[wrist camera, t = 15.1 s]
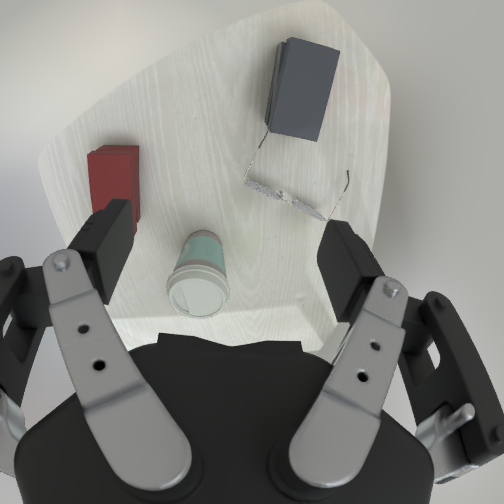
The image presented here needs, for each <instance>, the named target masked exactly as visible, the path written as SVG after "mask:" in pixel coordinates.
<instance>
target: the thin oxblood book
mask: <svg viewBox="0 0 504 504" xmlns="http://www.w3.org/2000/svg"><path fill="white" fill-rule="evenodd" d="M87 159H88V172H89V183H90V193H91V202H92V209H93V214H94V213H95V212H97V211H98V210H100V209H102V210H104V209H105V207H106V206H107V205H108V203H109V202H110V201H111V199H113V198H120V199H130V200H131V202H132V212H133V226H134V236H135V234H136V232H137V222H136V205H135V179H134V151H91V152H90V153H89V154H87Z"/></svg>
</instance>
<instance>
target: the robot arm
mask: <svg viewBox="0 0 504 504" xmlns="http://www.w3.org/2000/svg"><path fill="white" fill-rule="evenodd" d="M133 242H134V226H133V212H132V202H131V200H130V199H120V198H113V199H111V201H110V202H109V203H108V205H107V206H106V207H105V209H104V210H102V209H100V210H98V211H97V212H95V213H94V214H92V215H91V216H90V217H89V218H88V220H87V221H86V222H85V224H84V225H83V226H82V228H81V231H79V232H78V233H77V235H76V236H75V238H74V239H73V240H72V242H71V243H70V245H69V246H68V248H67V249H62V250H58V251H56V252H54V253H52V254H50V255H49V256H48V257H47V258H46V259H45V261H44V262H43V266H38V267H31V268H25V266H24V263H23V260H22V259H21V258H20V257H17V256H10V257H7V258H4V259H2V260H1V261H0V472H3V473H5V474H7V475H9V476H12V477H14V478H16V481H17V484H18V487H19V490H20V493H21V496H22V500H23V504H429V501H430V496H431V491H432V487H433V483H436V484H443V483H446V482H448V481H451V480H453V479H455V478H458V477H460V476H462V475H464V474H466V473H468V472H470V471H472V470H474V469H476V468H478V467H480V466H482V465H483V464H485V463H488V462H490V461H491V460H493V459H495V458H497V457H498V456H500V455H502V454H503V453H504V413H503V411H502V408H501V405H500V402H499V400H498V397H497V395H496V392H495V390H494V387H493V385H492V382H491V380H490V378H489V375H488V373H487V371H486V368H485V366H484V364H483V362H482V360H481V358H480V356H479V353H478V351H477V349H476V347H475V345H474V343H473V342H472V339H471V338H470V336H469V334H468V332H467V330H466V328H465V326H464V324H463V322H462V320H461V319H460V317H459V315H458V313H457V312H456V310H455V308H454V306H453V305H452V303H451V302H450V300H449V299H448V298H446V297H445V296H444V295H442V294H440V293H438V292H434V291H431V292H429V293H427V295H426V296H425V298H424V299H423V301H422V300H419V299H415V298H413V297H409V296H408V292H407V290H406V288H405V287H404V286H403V285H402V284H401V283H400V282H399V281H397V280H396V279H394V278H391V277H388V276H385V274H384V272H383V271H382V269H381V267H380V265H379V264H378V262H377V260H376V259H375V258H374V255H373V254H372V252H371V251H370V249H369V247H368V245H367V244H366V242H365V241H364V240H363V239H361V238H360V237H359V236H358V235H357V234H355V233H354V232H353V230H352V228H351V227H350V225H349V223H348V222H346V221H339V220H332V219H330V220H329V221H328V222H327V225H326V228H325V231H324V234H323V237H322V240H321V243H320V246H319V249H318V253H317V264H318V267H319V270H320V272H321V275H322V278H323V281H324V284H325V286H326V289H327V292H328V295H329V298H330V301H331V304H332V307H333V310H334V313H335V316H336V319H337V322H349V324H350V327H349V328H348V330H347V332H346V334H345V336H344V338H343V339H342V341H341V343H340V345H339V347H338V349H337V351H336V352H335V354H334V356H333V358H332V360H331V362H330V363H328V362H327V361H325V360H324V359H322V358H320V357H317V356H315V355H313V354H310V353H307V352H303V350H302V345H301V341H262V342H257V343H251V344H245V345H239V346H226V345H223V344H219V343H216V342H212V341H209V340H205V339H202V338H198V337H195V336H187V335H176V334H167V333H159V335H158V340H157V343H153V344H147V345H143V346H140V347H137V348H135V349H132V350H130V351H127V349H126V347H125V345H124V344H123V342H122V340H121V338H120V336H119V334H118V332H117V331H116V329H115V327H114V325H113V323H112V321H111V319H110V317H109V315H108V313H107V311H106V309H105V307H104V304H105V305H108V304H109V302H110V299H111V297H112V294H113V292H114V289H115V287H116V284H117V282H118V279H119V277H120V274H121V272H122V270H123V267H124V265H125V263H126V260H127V258H128V256H129V253H130V251H131V249H132V246H133ZM9 314H10V315H11V317H12V318H13V319H12V321H11V323H10V325H9V327H8V330H7V332H6V334H5V336H4V338H3V326H4V324H5V322H6V319H7V318H8V315H9ZM50 326H53V327H54V330H55V334H56V337H57V341H58V344H59V347H60V350H61V353H62V356H63V359H64V362H65V365H66V367H67V370H68V373H69V375H70V378H71V381H72V383H73V386H74V388H75V391H76V392H75V393H74V394H73V395H71V396H70V397H69V398H68V399H66V400H65V401H64V402H63V403H61V404H60V405H59V406H58V407H56V408H55V409H54V410H53V411H52V412H50V413H49V414H48V415H46V416H45V417H44V418H43V419H41V420H40V421H39V422H38V423H37V424H35V425H34V426H33V427H32V428H30V429H29V430H28V431H27V429H26V427H25V418H24V414H23V412H22V410H21V409H20V407H21V403H22V399H23V395H24V392H25V388H26V384H27V381H28V378H29V374H30V371H31V368H32V365H33V362H34V359H35V356H36V353H37V350H38V347H39V345H40V342H41V339H42V336H43V334H44V331H45V328H46V327H50ZM433 341H434V342H435V344H436V347H437V349H438V351H439V354H440V363H439V366H438V367H437V368H436V370H435V367H434V365H433V363H432V360H431V357H430V355H429V353H428V350H427V348H428V347H429V346H430V345H431V343H432V342H433ZM397 362H398V365H399V368H400V371H401V374H402V378H403V381H404V384H405V387H406V390H407V394H408V397H409V400H410V404H411V407H412V411H413V414H414V418H415V422H416V426H417V430H416V433H415V437H414V436H413V435H412V434H411V433H410V432H409V431H407V430H406V429H405V428H404V427H403V426H401V425H400V424H399V423H398V422H397V421H396V420H394V419H393V418H392V417H391V416H390V415H389V414H388V413H386V412H385V411H384V410H383V409H382V407H383V404H384V401H385V399H386V396H387V393H388V390H389V387H390V384H391V381H392V378H393V375H394V371H395V369H396V365H397Z"/></svg>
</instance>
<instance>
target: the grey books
mask: <svg viewBox="0 0 504 504" xmlns="http://www.w3.org/2000/svg"><path fill="white" fill-rule="evenodd" d="M339 54H340V51H338V50H335V49H332V48H329V47H326V46H323V45H319V44H316V43H312V42H309V41H305V40H301V39H297V38H293V37H291V38H289V39H287V42H286V43H284V42H281V43H279V45H278V50H277V56H276V61H275V67H274V72H273V78H272V83H271V89H270V94H269V100H268V106H267V111H266V117H265V123H266V125H267V126H268V129H269V131H270V132H271V133H278V134H283V135H288V136H293V137H298V138H302V139H307V140H311V141H315V142H317V140H318V136H319V132H320V128H321V125H322V121H323V117H324V114H325V110H326V106H327V102H328V98H329V94H330V90H331V86H332V83H333V79H334V75H335V71H336V67H337V62H338V58H339Z"/></svg>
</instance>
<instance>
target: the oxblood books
mask: <svg viewBox="0 0 504 504" xmlns="http://www.w3.org/2000/svg"><path fill="white" fill-rule="evenodd" d="M96 151H134V179H135V205H136V222H137V223H138V221H139V219H140V197H139V146H120V145H103V146H102V147H100V148H98V149H97V150H96Z"/></svg>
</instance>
